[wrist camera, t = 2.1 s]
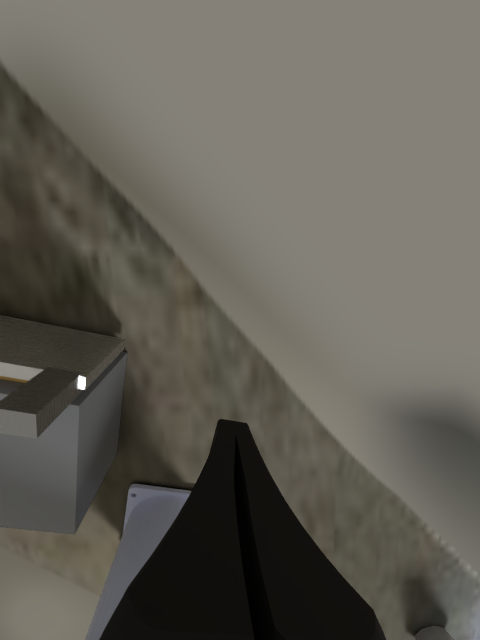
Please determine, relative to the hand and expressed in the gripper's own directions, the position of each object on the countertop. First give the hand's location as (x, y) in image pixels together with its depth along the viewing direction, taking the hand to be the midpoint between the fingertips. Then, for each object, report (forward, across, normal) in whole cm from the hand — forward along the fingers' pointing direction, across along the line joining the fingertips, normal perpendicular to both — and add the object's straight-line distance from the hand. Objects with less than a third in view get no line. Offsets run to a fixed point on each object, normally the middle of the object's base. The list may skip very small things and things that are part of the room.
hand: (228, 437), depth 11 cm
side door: (+7, +12, 0) cm, 14 cm away
